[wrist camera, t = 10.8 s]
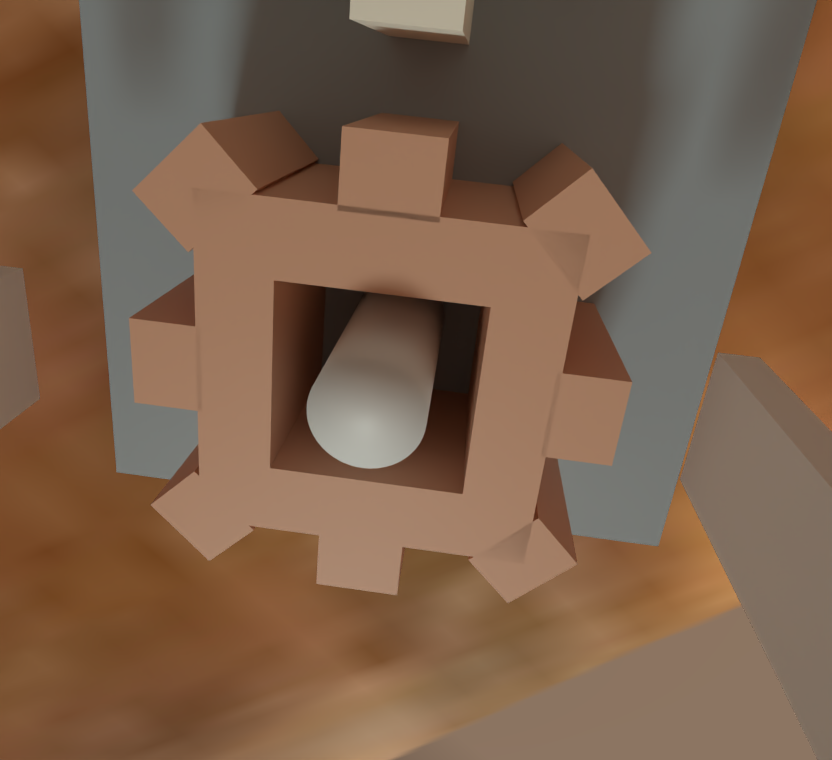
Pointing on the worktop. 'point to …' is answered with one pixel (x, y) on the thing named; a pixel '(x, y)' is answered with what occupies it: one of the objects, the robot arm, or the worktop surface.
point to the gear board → (474, 161)
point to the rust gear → (394, 275)
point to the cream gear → (417, 18)
